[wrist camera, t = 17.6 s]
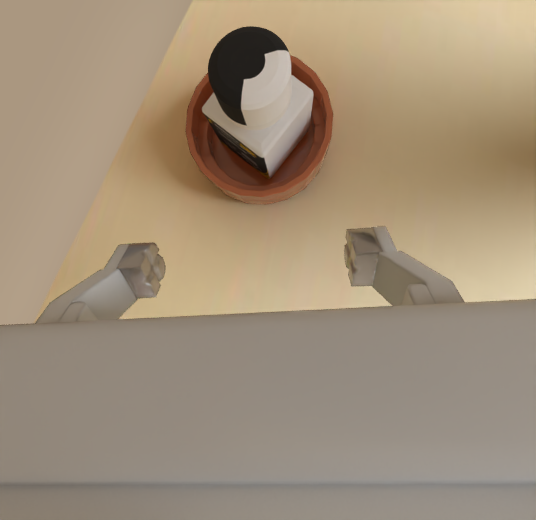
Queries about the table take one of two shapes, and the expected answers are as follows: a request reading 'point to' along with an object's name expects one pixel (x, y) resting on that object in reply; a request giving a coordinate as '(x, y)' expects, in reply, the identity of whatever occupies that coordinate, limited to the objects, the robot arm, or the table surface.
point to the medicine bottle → (257, 98)
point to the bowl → (244, 175)
